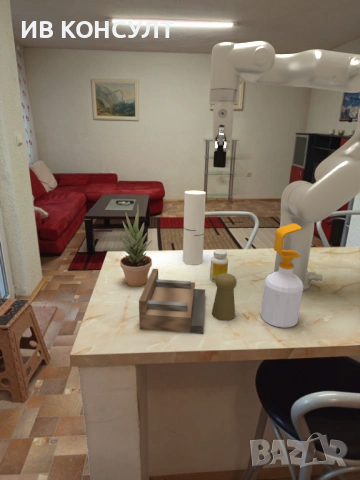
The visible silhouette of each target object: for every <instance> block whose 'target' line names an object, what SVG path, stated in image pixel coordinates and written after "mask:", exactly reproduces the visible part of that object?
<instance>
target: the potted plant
mask: <svg viewBox="0 0 360 480" xmlns="http://www.w3.org/2000/svg"><path fill="white" fill-rule="evenodd" d="M136 207H137V208H136V214H135V219H134V224H133V226H132V223H131V221H130V219H129V216H128V213H127V212H125V218H126V223H127V225H126V224H125V222H124V220H122V225H123V227H124V228H123V229H124V231H125V233H126V235H127V238H125V237H124V236H123V235H122V234H121V233H119V238H120V241H121V243H122V244H123V245H124V247H122V250H124V252H125V253H126V254H124V255H125V256H123V257H121V258H120V260H119V265H120V268H121V269H122V271H123V274H124V277H125V280H126V284H128V285H129V286H132V287H141V286H144V285H146V283H147V281H148V275H149V272H150V270H151V268H152V265H153V261H152V260H153V259H152V257H150V256H149V255H147V252H145V251H146V250H147V247H148V246H149V245H150V244H151V243H152V242H153V240H150V241H149V242H148V243H147V241H145V239H146V238H147V234H148V232H146V233H145V234H144V230H145V222H143V223H142V225H141V227H140V230H139V220H140V219H139V218H140V214H139V213H140V211H139V209H140V208H139V204H137V206H136ZM143 234H144V235H143ZM144 241H145V243H144Z"/></svg>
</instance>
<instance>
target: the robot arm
mask: <svg viewBox="0 0 360 480" xmlns="http://www.w3.org/2000/svg"><path fill="white" fill-rule="evenodd" d="M210 63H211V64H210V79H209V81H210V82H209V101H208V105H211V106H213V108H212V110H213V114H212V139H213V140H212V143H214V144H215V145H214V146H215V147H214V151H213V164H212V167H213V168H219V169H220V168H221V169H222V168H226V161H227V149H226V148H227V142H228V145H231V144H232V142H233V141H232V140H233V130H234V129H233V126H234V117H235V116H234V114H235V113H234V111H235V108H234V106H238V105H239V94H240V84H241V78H242V79H244V80H245V81H247V82H250V83H257V84H263V85H272V86H287V87H296V88H311V89H318V90H326V91H327V90H328V91H332V92H333V91H334V92H341V93H351V94H354V93H356V94H357V93H360V54H356V53H349V52H340V51H335V50H334V51H332V50H326V49H318V48H317V49H315V48H314V49H309V50H304V51H301V52H297V53H288V54H277V53H276V50H275V48H274V46H273V45H272V44H270V43H269V42H268V41H265V40H255V41H249V42H240V43H236V42H233V41H231V42H230V41H223V42H218V43H216V44H215V45H214V46H213V47H212V50H211V60H210ZM357 113H358V114H357V124H356V129H355V131H354V134H353V135H352V136H351V137H350V138H349V139H348V140H347V141H346V142H344V144H343V145H341V146H340V147H339V148H337V149H336V150H335V151H334V152H332V153H331V154H330V155H328V156H327V157H326V158H325V159H323V160H322V161H321V162H320V163H319V164H318V165H317V167H316V168H315V171H314V179H315V182H314V183H311V182H308V181H306V180H296V181H293V182H291V183H289V184H288V185H287V186H286V187H284V190H283V191H282V194H281V198H280V225H279V228H280V227H283V226H286V225H289V224H293V223H295V224H297V225H299V226H300V227H301V228H302V229H301V230H299V231H296V232H293V233H290V234H287V235H286V236H285V237H284V241H283V248H282V250H294V251H296V252H297V253H298V254H299V255H300V257H299V258H294V259H293V260H291V263H292V264H293V265H294V267H293V274H294V275H296V276H297V277H298V278H299V279H300V280H301V281H302V283H303V292H304V291H307V290H309V288H310V287H311V282H312V281H317V282H322V281H323V279H324V278H323V277H324V276H323V274H317V273H316V271H309V270H308V266H309V260H310V254H311V248H312V243H313V237H314V231H315V223H318V222H321V221H323V220H325V219H327V218H328V217H329V216H331V215H333V214H334V213H335V212H337V211H338V210H339V209H340V208H342V207H343V206H344V205H346V204H347V203H348V202H350V201H351V200H353V199H354V198H355V197H356V196H358V194H360V108H359V109H358V112H357ZM275 252H276V251H275ZM274 260H275V261H274V269H273V272H277V271H278V269H279V263H280V262H283V260H284V259H282V258H281V256H280V255H279V254H278V253H277V252H276V253H275V259H274ZM273 272H270V273H269V274H268V275H270V274H272V273H273Z"/></svg>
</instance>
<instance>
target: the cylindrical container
mask: <svg viewBox="0 0 360 480" xmlns="http://www.w3.org/2000/svg"><path fill="white" fill-rule="evenodd" d="M206 197H207V192H206V191H203V190H194V189H193V190H185V191H184V199H183V200H184V204H183V207H184V208H183V237H182V239H183V241H182V242H183V243H182V245H183V247H182V262H183V263H184V264H186V265H188V266H189V265H190V266H198V265H201V264H203V262H204V261H203V260H204V241H205V240H204V239H205V238H204V237H205V236H204V235H205V221H206V220H205V219H206V218H205V216H206Z"/></svg>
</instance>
